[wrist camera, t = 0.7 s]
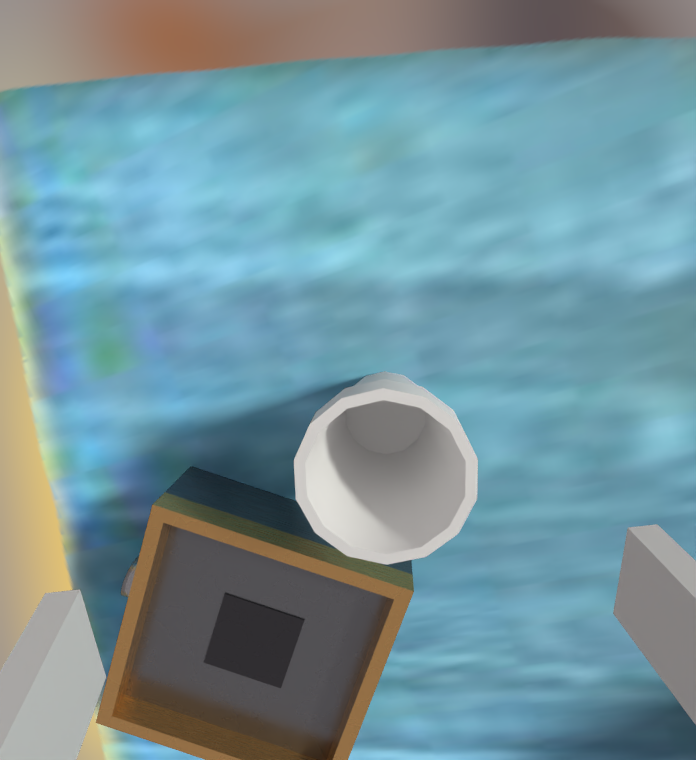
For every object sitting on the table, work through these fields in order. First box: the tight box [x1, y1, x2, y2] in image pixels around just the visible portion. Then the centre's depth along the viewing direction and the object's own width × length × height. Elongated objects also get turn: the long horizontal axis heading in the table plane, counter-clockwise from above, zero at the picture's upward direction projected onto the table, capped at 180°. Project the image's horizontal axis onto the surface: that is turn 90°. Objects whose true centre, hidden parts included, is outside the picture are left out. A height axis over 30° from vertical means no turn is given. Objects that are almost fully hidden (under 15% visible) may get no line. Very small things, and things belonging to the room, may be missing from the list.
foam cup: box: [294, 371, 478, 565], centre depth 33 cm, size 10×9×13 cm
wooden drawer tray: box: [96, 467, 414, 760], centre depth 40 cm, size 20×18×7 cm
